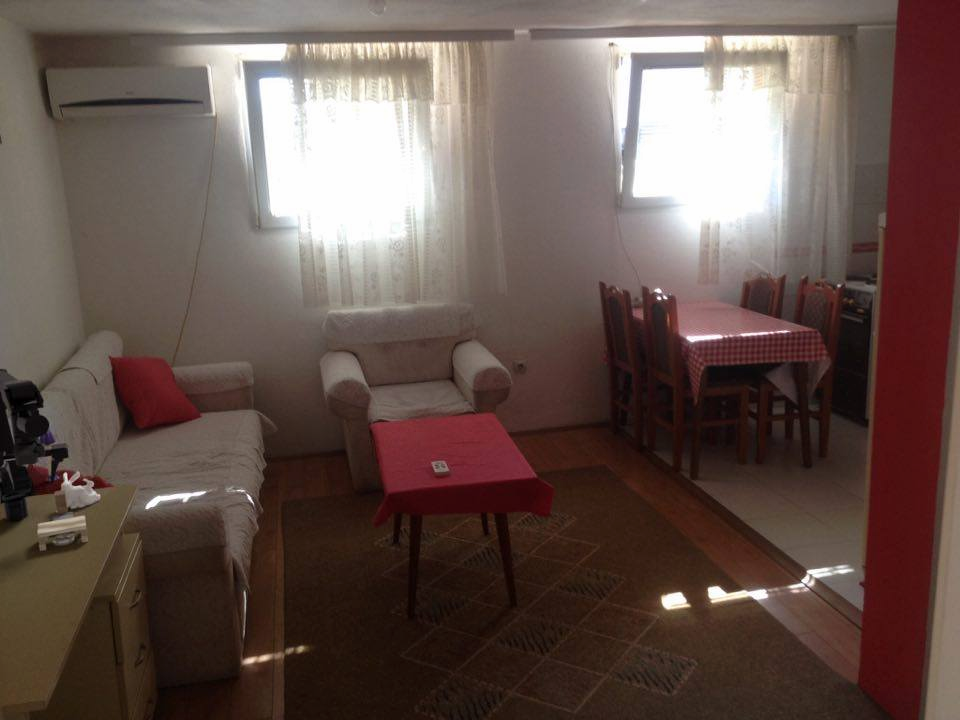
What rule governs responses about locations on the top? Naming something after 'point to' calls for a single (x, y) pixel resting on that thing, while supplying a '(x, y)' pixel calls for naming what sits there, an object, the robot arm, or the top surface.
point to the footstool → (61, 529)
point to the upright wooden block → (61, 508)
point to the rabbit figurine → (78, 492)
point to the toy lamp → (48, 440)
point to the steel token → (63, 539)
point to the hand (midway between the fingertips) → (32, 487)
